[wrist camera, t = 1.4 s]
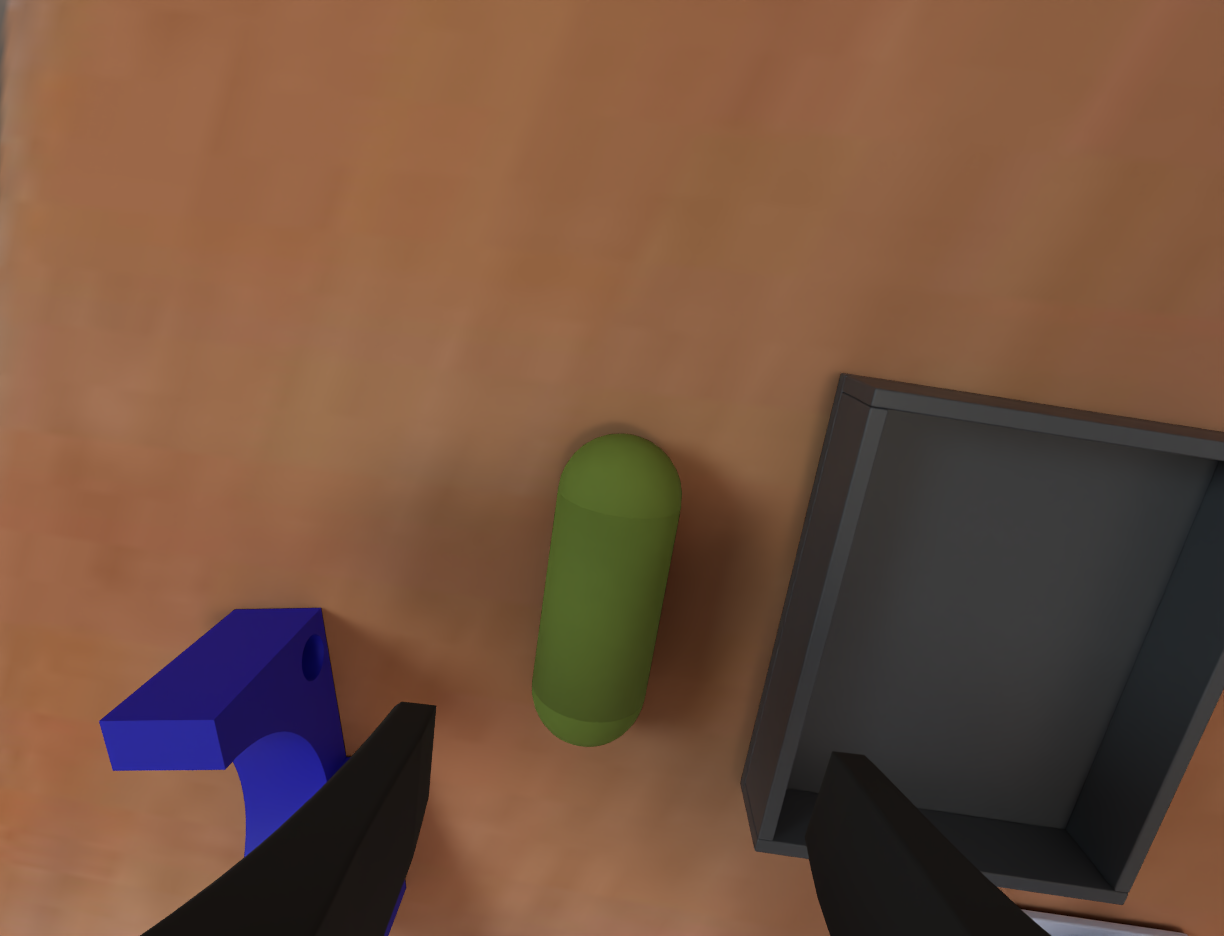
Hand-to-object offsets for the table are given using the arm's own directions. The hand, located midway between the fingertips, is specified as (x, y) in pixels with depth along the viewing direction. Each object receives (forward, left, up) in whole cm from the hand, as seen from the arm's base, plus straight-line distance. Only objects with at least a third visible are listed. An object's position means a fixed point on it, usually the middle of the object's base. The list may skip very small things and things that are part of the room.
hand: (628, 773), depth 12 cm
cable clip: (-10, +10, -10) cm, 17 cm away
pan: (-1, -11, -10) cm, 15 cm away
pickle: (-1, +1, -10) cm, 10 cm away
